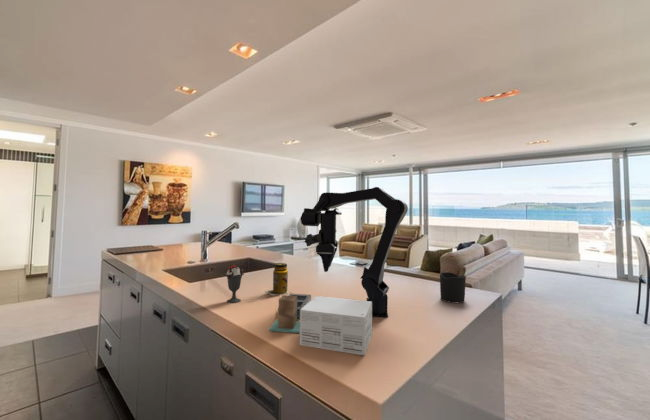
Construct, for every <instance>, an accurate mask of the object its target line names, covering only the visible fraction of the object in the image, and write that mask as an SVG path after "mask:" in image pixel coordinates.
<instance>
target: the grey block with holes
mask: <svg viewBox="0 0 650 420" xmlns="http://www.w3.org/2000/svg"><path fill="white" fill-rule="evenodd" d="M288 296H297V320H300V310H301V309H302V308H303V307H304V306H305V305H306V304H308V303H309V302H310V301H311V300H312V294H305V293H304V294H302V293H289V295H288ZM278 313H279V306H278V308H277V314H278Z"/></svg>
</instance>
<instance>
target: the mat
mask: <svg viewBox="0 0 650 420" xmlns="http://www.w3.org/2000/svg"><path fill="white" fill-rule="evenodd" d="M268 331H269V332H278V333H280V332H281V333H291V334H293V333H294V334H300V320H299V321H298V320H297V323H296V325H295V327H294V328H293V329H287V328H278V319H276V320H275V321H274V322H273V323H272V325H271V326H270V327H269V329H268Z"/></svg>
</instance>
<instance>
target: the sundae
mask: <svg viewBox="0 0 650 420" xmlns="http://www.w3.org/2000/svg"><path fill="white" fill-rule="evenodd" d="M228 263H229V264H230V266H229V267H228V270H227V272H226V273H225V275H224V276H225V277H226V278H227V287H228V290H230V292H231V294H232V295H231V298H229V299H227V300H226V302H227V303H230V304H236V303H240V302H241V301H242V300H241V298H238V297H237V291H239V289H240V287H241V282H242V278H243V277H242V276H244V275H245V272H243V271H244V267H243V268H242V269H240V267H238V266H236V265H234V264H233V263H232V262H231V260H230V261H228Z"/></svg>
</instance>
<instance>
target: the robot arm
mask: <svg viewBox="0 0 650 420" xmlns="http://www.w3.org/2000/svg"><path fill="white" fill-rule="evenodd" d="M371 200H376V201H377V202H378V203H379V204H381V206H383V207H384V208H385V209H386V211H385V215H384V216H385V218H384V219H385V221H384V223H385V224H384V227H383V229H382V231H381V235H380V239H379V241H378V244H377V247H376V251H375V254H374V256H373V259H372V262H371V264H368V265H366V266H364V268H363V272H362V275H361V276H360V279H361V286H362V288H363V290H365V292H366V293H365V294H366V296H367V297H366V300H365V301H372V317H381V318H388V317H389V313H388V299H389V298H388V294H387V293H388V292H389V290H390V287H389V286H388V285H387V283H386V282H385V280H384V277H385V264H386V263H387V259H388V256H389V253H390V250H391V247H392V244H393V242H394V238H395V236H396V233H397V230H398V227H400V224H401V223H402V222H403V220H404V218H405V217H406V215H407V213H408V209H409V207H408V204H407V203H406V202H405V201H403V200H400V199H396V198H395V197H393V196H392V195H390V194H389V193H388V192H386V191H384V189H383V188H381V187H378V186H373V187H372V188H367V189H360V190H354V191H348V192H347V191H346V192H322V193H321V194H320V195H319V198H318V201H317V202H316V204H315V206H314V207H313V208H310V207H309V208H305V207H304V208H303V211H302V213H301V216H300V223H301V225H302V226H303V227H319V225H320V229H318V233H317V234H312V233H309V234H306V237H305V238H304V243H305V245H306V247H310V246H311V245H314V244H315V245H316V244H317V245H316V246H315V253H316V254H317V255H318V256H319V257H320V258H321V262H322V266H323V272H324V273H328V272H329V269H330V267H331V265H332V263H333V261H334V258H335V255H336V253H337V250H338V247H339V242H338V240H336V235H337V234H336V233H337V215H338V216H341V215H342V214H343V213H342V212H341V211H340V210H339V207H341V206H344V205H347V204H353V203H358V202H365V201H371ZM330 209H331V210H330Z"/></svg>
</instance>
